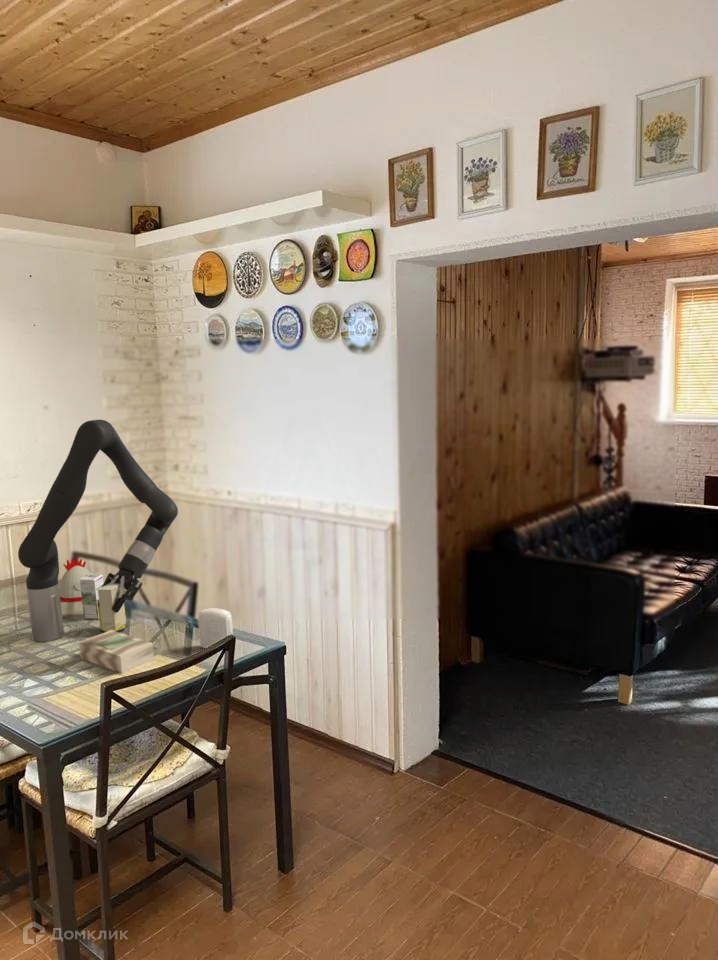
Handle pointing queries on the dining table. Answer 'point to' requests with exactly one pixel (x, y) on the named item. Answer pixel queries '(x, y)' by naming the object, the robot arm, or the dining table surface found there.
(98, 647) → the step block
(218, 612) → the photo printer
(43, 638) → the robot arm
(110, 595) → the skincare box
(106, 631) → the supplement box
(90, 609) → the syrup box
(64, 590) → the kitchen timer
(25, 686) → the dining table surface
